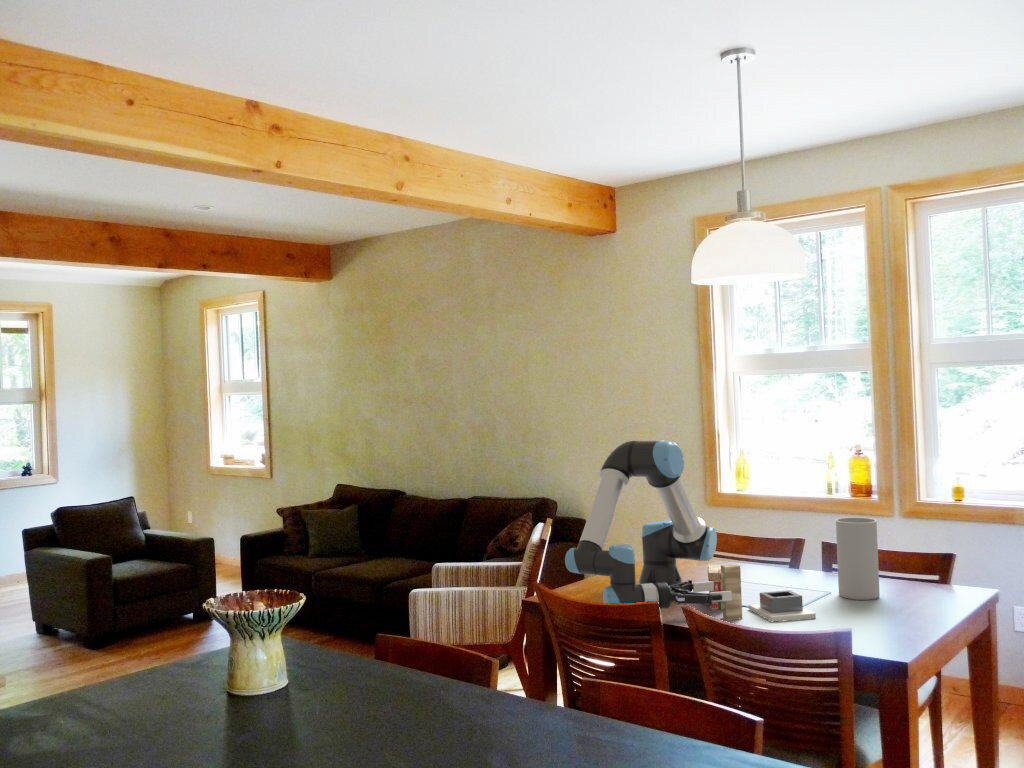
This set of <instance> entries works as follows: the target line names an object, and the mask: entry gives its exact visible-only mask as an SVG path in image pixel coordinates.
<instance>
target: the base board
mask: <svg viewBox="0 0 1024 768" xmlns="http://www.w3.org/2000/svg"><path fill="white" fill-rule="evenodd" d="M749 609H750V610H749ZM748 610H749V611H751V612H752V611H753V613H754V612H755V613H754V614H756V613H757V614H756V615H758V614H759V615H758V616H760V615H761V616H760V617H762V616H763V617H762V618H764V617H765V618H766V619H765V618H764V619H765V620H767V619H768V621H769V620H770V621H769V622H771V621H780V622H784V621H783V620H792V621H799V620H798V619H803V620H811V619H812V618H815V619H816V618H817V615H816V614H817V613H816V612H814V611H812V610H809V609H807V608H805V607H803V611H794V612H783V613H770V612H768V611H767V610H765V609H763V608H761V607H760V603H753V604H748ZM812 620H813V619H812Z"/></svg>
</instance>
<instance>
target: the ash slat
mask: <svg viewBox="0 0 1024 768" xmlns="http://www.w3.org/2000/svg"><path fill="white" fill-rule="evenodd" d="M720 565H721V585H722V591H731V592H732V600H731V601H722V610H721V611H722V619H725V620H726V621H730V620H729V619H732V620H739V618H742V619H743V602H742V578H741V577H742V576H741V575H742V574H741V565H739V564H737V563H733V564H720Z"/></svg>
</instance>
